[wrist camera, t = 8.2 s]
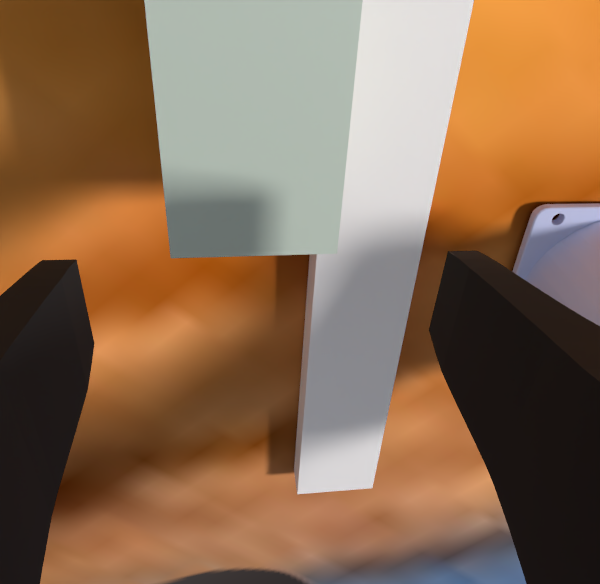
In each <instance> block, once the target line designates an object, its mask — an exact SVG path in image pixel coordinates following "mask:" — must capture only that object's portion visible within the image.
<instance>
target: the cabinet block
mask: <svg viewBox="0 0 600 584" xmlns="http://www.w3.org/2000/svg"><path fill="white" fill-rule="evenodd" d="M362 2H363V0H144V3H145V12H146V22H147V32H148V41H149V51H150V61H151V71H152V80H153V90H154V100H155V109H156V119H157V129H158V138H159V148H160V158H161V168H162V177H163V187H164V197H165V206H166V216H167V226H168V236H169V245H170V255H171V258H194V257H231V256H268V255H306V254H337V249H338V239H339V229H340V219H341V209H342V200H343V190H344V180H345V170H346V160H347V150H348V140H349V130H350V120H351V111H352V101H353V91H354V81H355V71H356V61H357V51H358V41H359V31H360V21H361V12H362Z"/></svg>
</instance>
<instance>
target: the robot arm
mask: <svg viewBox="0 0 600 584" xmlns="http://www.w3.org/2000/svg"><path fill="white" fill-rule="evenodd" d="M557 214H560V215H559V216H558V218H556V219H555V220H552V219H553V217H554V216H555V215H557ZM429 331H430V335H431V338H432V342H433V345H434V349H435V352H436V355H437V359H438V362H439V365H440V368H441V371H442V373H443V375H444V378H445V380H446V382H447V384H448V386H449V389H450V391H451V393H452V395H453V397H454V399H455V401H456V404H457V406H458V408H459V410H460V412H461V414H462V416H463V418H464V420H465V422H466V424H467V427H468V429H469V431H470V433H471V435H472V437H473V439H474V441H475V443H476V445H477V448H478V450H479V452H480V454H481V456H482V458H483V460H484V462H485V465H486V467H487V469H488V472H489V474H490V476H491V479H492V481H493V484H494V486H495V489H496V492H497V495H498V498H499V501H500V504H501V506H502V509H503V512H504V515H505V518H506V521H507V524H508V527H509V529H510V533H511V536H512V539H513V542H514V545H515V548H516V551H517V555H518V558H519V561H520V564H521V567H522V570H523V573H524V576H525V580H526V583H527V584H600V203H592V204H544V205H540V206H539V207H537V208H536V209H535V210H534V211H533V212H532V214H531V216H530V219H529V222H528V225H527V228H526V231H525V234H524V237H523V240H522V243H521V246H520V249H519V252H518V255H517V259H516V262H515V265H514V268H513V271H510V270H509V269H507V268H506V267H504V266H502V265H501V264H499V263H498V262H496V261H494V260H493V259H491V258H489V257H488V256H486V255H484V254H482V253H480V252H478V251H448V254H447V258H446V262H445V266H444V270H443V274H442V278H441V283H440V287H439V291H438V295H437V299H436V303H435V307H434V311H433V316H432V320H431V324H430V328H429ZM93 349H94V340H93V336H92V331H91V326H90V321H89V317H88V312H87V307H86V303H85V298H84V293H83V289H82V284H81V279H80V274H79V270H78V265H77V260H42V261H41V262H39V263H38V264H37V265H35V266H34V267H33V268H32V269H31V270H29V271H28V272H27V273H26V274H25V275H24V276H22V277H21V278H20V279H19V280H18V281H17V282H16V283H14V284H13V285H12V286H11V287H10V288H9V289H8V290H6V291H5V292H4V293H3V294H2V295H1V296H0V584H40V579H41V573H42V567H43V561H44V556H45V550H46V545H47V539H48V533H49V528H50V522H51V517H52V513H53V509H54V505H55V501H56V497H57V493H58V489H59V486H60V483H61V479H62V476H63V472H64V469H65V466H66V462H67V459H68V456H69V452H70V449H71V445H72V442H73V439H74V435H75V432H76V428H77V425H78V422H79V418H80V415H81V411H82V408H83V404H84V401H85V397H86V393H87V390H88V384H89V377H90V371H91V364H92V356H93Z"/></svg>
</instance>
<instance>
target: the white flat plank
mask: <svg viewBox="0 0 600 584" xmlns="http://www.w3.org/2000/svg"><path fill="white" fill-rule="evenodd" d="M473 2H474V0H363V2H362V12H361V21H360V31H359V41H358V51H357V61H356V71H355V81H354V91H353V101H352V111H351V120H350V130H349V140H348V150H347V160H346V170H345V180H344V190H343V200H342V209H341V219H340V229H339V239H338V249H337V254H310V256H309V270H308V283H307V297H306V311H305V325H304V339H303V352H302V366H301V380H300V394H299V408H298V422H297V435H296V449H295V463H294V474H295V481H296V488H297V494H305V493H317V492H330V491H342V490H355V489H367V488H372V487H373V482H374V477H375V472H376V468H377V463H378V458H379V453H380V448H381V444H382V439H383V434H384V429H385V424H386V420H387V415H388V410H389V405H390V400H391V396H392V391H393V386H394V381H395V376H396V372H397V367H398V362H399V357H400V352H401V348H402V343H403V338H404V333H405V329H406V324H407V319H408V314H409V309H410V305H411V300H412V295H413V290H414V285H415V281H416V276H417V271H418V266H419V261H420V257H421V252H422V247H423V242H424V237H425V233H426V228H427V223H428V218H429V213H430V209H431V204H432V199H433V194H434V189H435V185H436V180H437V175H438V170H439V165H440V161H441V156H442V151H443V146H444V142H445V137H446V132H447V127H448V122H449V118H450V113H451V108H452V103H453V98H454V94H455V89H456V84H457V79H458V74H459V70H460V65H461V60H462V55H463V50H464V46H465V41H466V36H467V31H468V26H469V22H470V17H471V12H472V7H473Z"/></svg>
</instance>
